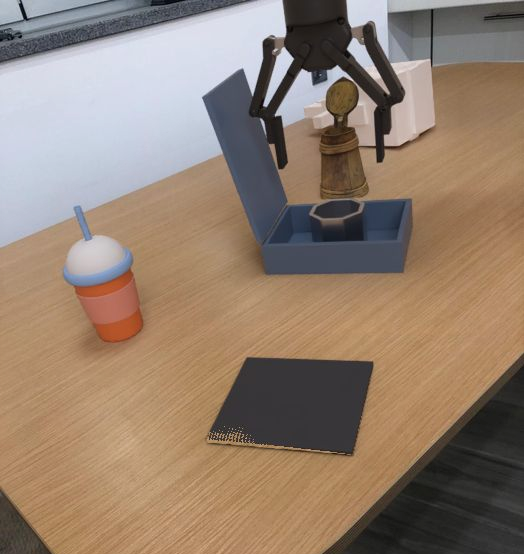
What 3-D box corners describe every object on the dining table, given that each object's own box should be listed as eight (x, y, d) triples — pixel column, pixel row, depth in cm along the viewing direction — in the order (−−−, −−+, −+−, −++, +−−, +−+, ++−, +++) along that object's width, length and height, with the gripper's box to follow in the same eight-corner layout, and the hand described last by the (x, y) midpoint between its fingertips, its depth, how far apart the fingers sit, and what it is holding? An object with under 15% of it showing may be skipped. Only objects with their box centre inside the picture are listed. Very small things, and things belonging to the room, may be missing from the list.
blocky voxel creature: (351, 123, 152) (451, 120, 133) (286, 156, 139) (386, 158, 120) (342, 60, 144) (447, 48, 125) (272, 89, 132) (377, 80, 112)
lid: (243, 67, 85) (238, 69, 86) (207, 95, 74) (201, 97, 74) (288, 201, 95) (283, 202, 96) (262, 242, 84) (257, 243, 85)
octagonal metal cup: (370, 237, 91) (367, 196, 88) (362, 261, 85) (359, 218, 82) (321, 239, 94) (316, 199, 90) (310, 262, 88) (305, 220, 84)
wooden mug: (375, 172, 116) (368, 72, 105) (364, 200, 105) (356, 92, 95) (329, 175, 118) (319, 78, 108) (315, 203, 108) (302, 98, 98)
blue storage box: (412, 230, 92) (411, 198, 89) (403, 277, 81) (401, 242, 78) (290, 235, 99) (286, 204, 96) (266, 279, 88) (260, 246, 85)
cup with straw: (78, 350, 80) (26, 226, 70) (103, 314, 88) (59, 196, 77) (141, 347, 78) (97, 218, 68) (161, 310, 86) (124, 188, 75)
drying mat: (373, 365, 67) (373, 361, 66) (353, 456, 56) (352, 451, 56) (247, 360, 72) (246, 356, 71) (206, 443, 61) (205, 439, 61)
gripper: (204, 5, 71) (237, 178, 83) (419, -31, 63) (422, 166, 75) (224, -4, 77) (253, 159, 89) (425, -38, 69) (426, 146, 81)
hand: (330, 163), depth 82 cm, fingers open, 13 cm apart
